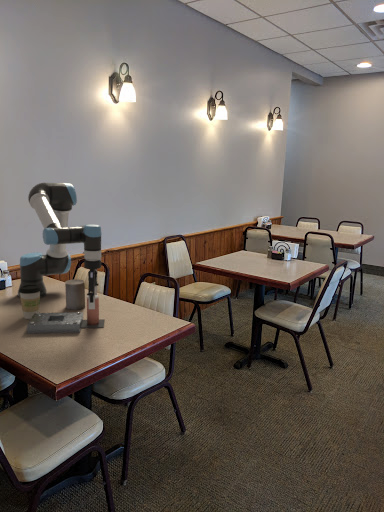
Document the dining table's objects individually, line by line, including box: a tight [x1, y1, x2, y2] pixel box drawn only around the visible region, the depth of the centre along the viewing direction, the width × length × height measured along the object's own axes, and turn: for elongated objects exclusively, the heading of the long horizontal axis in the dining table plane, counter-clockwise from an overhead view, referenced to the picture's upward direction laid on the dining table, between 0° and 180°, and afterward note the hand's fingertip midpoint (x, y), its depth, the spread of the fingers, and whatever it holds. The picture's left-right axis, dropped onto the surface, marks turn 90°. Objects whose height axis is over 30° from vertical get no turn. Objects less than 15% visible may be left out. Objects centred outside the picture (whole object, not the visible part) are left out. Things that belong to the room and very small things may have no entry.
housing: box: [26, 311, 84, 335], centre depth 185 cm, size 15×22×5 cm
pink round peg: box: [86, 294, 100, 325], centre depth 189 cm, size 5×5×13 cm
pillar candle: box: [64, 278, 86, 311], centre depth 212 cm, size 10×10×15 cm
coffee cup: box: [18, 284, 41, 320], centre depth 195 cm, size 10×10×15 cm
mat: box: [81, 318, 105, 329], centre depth 191 cm, size 10×10×1 cm
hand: (93, 304), depth 189 cm, fingers open, 13 cm apart
